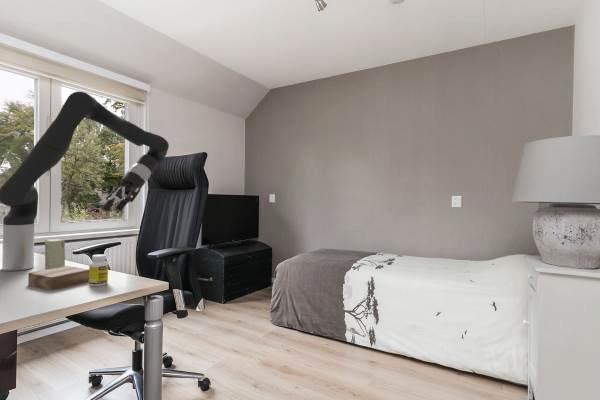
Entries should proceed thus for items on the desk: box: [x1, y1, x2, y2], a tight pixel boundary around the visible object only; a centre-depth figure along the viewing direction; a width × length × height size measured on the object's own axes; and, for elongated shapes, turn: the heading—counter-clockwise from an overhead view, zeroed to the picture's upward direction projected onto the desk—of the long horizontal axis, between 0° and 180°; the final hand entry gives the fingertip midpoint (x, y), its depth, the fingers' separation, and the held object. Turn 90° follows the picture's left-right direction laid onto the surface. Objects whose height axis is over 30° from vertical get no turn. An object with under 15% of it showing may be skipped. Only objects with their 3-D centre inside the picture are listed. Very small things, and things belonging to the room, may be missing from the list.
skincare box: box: [44, 238, 66, 270], centre depth 124 cm, size 6×4×12 cm
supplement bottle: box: [88, 253, 109, 287], centre depth 111 cm, size 5×5×10 cm
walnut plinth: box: [27, 265, 89, 291], centre depth 111 cm, size 12×12×4 cm
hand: (111, 210), depth 121 cm, fingers open, 8 cm apart
